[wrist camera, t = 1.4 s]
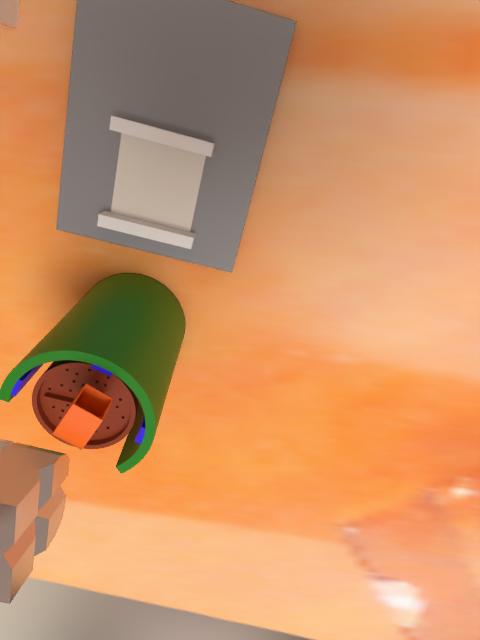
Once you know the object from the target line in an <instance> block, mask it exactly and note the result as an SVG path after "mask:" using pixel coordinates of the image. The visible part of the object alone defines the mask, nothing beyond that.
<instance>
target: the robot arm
mask: <svg viewBox="0 0 480 640" xmlns="http://www.w3.org/2000/svg"><path fill="white" fill-rule="evenodd" d="M68 470H69V458H68V456H67V454H64V453H60V452H55V451H51V450H46V449H42V448H38V447H33V446H29V445H25V444H20V443H14V442H12V441H7V440H2V439H0V602H4V603H11V601H12V600H13V598H14V597H15V595H16V594H17V592H18V591H19V589H20V588H21V586H22V585H23V583H24V582H25V581H26V579H27V578H28V576H29V575H30V573H31V572H32V570H33V560H34V556H35V555H37V554H39V553H41V552H43V551H45V550H46V549H47V548H48V546H49V545H50V543H51V541H52V540H53V538H54V537H55V534H56V532H57V530H58V527H59V525H60V523H61V520H62V516H63V512H64V508H65V500H66V495H65V493H64V491H63V490H62V488H61V486H60V485H61V484H62V482H63V481H64V480H65V478H66V477H67V476H68Z"/></svg>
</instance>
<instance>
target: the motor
mask: <svg viewBox="0 0 480 640" xmlns="http://www.w3.org/2000/svg"><path fill="white" fill-rule="evenodd" d="M184 333H185V317H184V313H183V310H182V308H181V305H180V303H179V302H178V300H177V298H176V297H175V296H174V295H173V293H172V292H171V291H170V290H169V289H168V288H167V287H165V286H164V285H163V284H161V283H160V282H158V281H156V280H154V279H152V278H150V277H147V276H144V275H140V274H133V273H123V274H117V275H113V276H110V277H107V278H105V279H103V280H102V281H100V282H99V283H97V284H96V285H95V286H94V287H93V288H92V289H91V290H90V291H89V292H88V293H87V294H86V295H85V296H84V297H83V298H82V299H81V300H80V301H79V302H78V303H77V304H76V305H75V306H74V307H73V308H72V309H71V310H70V311H69V312H68V313H67V315H66V316H65V317H64V318H63V319H62V320H61V321H60V322H59V323H58V324H57V325H56V326H55V327H54V328H53V329H52V330H51V331H50V332H49V333H48V334H47V335H46V336H45V337H44V338H43V339H42V340H41V341H40V342H39V343H38V344H37V345H36V346H35V347H34V348H33V349H32V350H31V351H30V353H29V354H28V355H27V356H26V357H25V358H24V359H23V360H22V361H21V362H20V363H19V364H18V365H17V366H16V367H15V368H14V369H13V370H12V371H11V372H10V373H9V375H8V376H7V377H6V379H5V380H4V382H3V384H2V387H1V389H0V399H1V400H4V401H7V402H9V401H10V400H11V399H12V398H13V397H14V396H16V395H17V394H18V392H19V391H20V390H21V389H22V388H23V387H24V386H25V384H26V383H27V382H28V381H29V380H30V379H31V377H32V376H33V375H34V374H35V373H36V372H37V371H38V369H39V368H40V367H41V366H42V365H43V364H44V363H47V362H52V361H54V362H53V363H52V364H51V365H50V367H49V368H48V369H47V370H46V371H45V372H44V374H43V375H42V376H41V377H40V378H39V380H38V381H37V383H36V385H35V387H34V390H33V394H32V405H33V410H34V413H35V415H36V417H37V419H38V421H39V422H40V424H41V425H42V426H43V428H44V429H45V430H46V431H47V432H48V433H50V434H51V435H52V436H53V437H55V438H56V439H58V440H60V441H62V442H64V443H66V444H68V445H71V446H74V447H77V448H79V449H81V450H82V449H83V448H85V449H98V448H104V447H108V446H111V445H113V444H115V443H117V442H119V441H120V440H122V439H123V438H124V437H125V436H126V435H127V434H128V433H129V434H128V436H127V439H126V442H125V444H124V447H123V449H122V452H121V455H120V457H119V460H118V462H117V465H116V468H117V469H118V470H119V471H120V473H123V472H125V471H127V470H129V469H131V468H132V467H134V466H135V465H136V464H137V463H139V462H140V461H141V460H142V459H143V458H144V456H145V455H146V454H147V452H148V451H149V449H150V447H151V445H152V442H153V439H154V436H155V433H156V429H157V426H158V422H159V419H160V416H161V412H162V409H163V405H164V402H165V399H166V395H167V392H168V388H169V385H170V382H171V378H172V375H173V371H174V368H175V365H176V361H177V358H178V354H179V351H180V348H181V344H182V341H183V337H184Z"/></svg>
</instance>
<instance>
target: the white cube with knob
mask: <svg viewBox="0 0 480 640" xmlns="http://www.w3.org/2000/svg"><path fill="white" fill-rule="evenodd" d="M18 19H19V0H0V23H1V24H4V25H8V26H11V27H14V28H18Z"/></svg>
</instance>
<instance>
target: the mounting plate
mask: <svg viewBox="0 0 480 640" xmlns="http://www.w3.org/2000/svg"><path fill="white" fill-rule="evenodd" d="M296 22H297V21H293V20H290V19H287V18H284V17H280V16H277V15H274V14H271V13H267V12H264V11H261V10H258V9H254V8H251V7H248V6H244V5H241V4H238V3H235V2H231V1H228V0H77V6H76V17H75V29H74V40H73V51H72V62H71V73H70V84H69V95H68V106H67V117H66V128H65V139H64V150H63V162H62V173H61V184H60V195H59V206H58V217H57V228H56V229H57V230H61V231H65V232H69V233H73V234H77V235H81V236H85V237H90V238H94V239H98V240H102V241H106V242H110V243H114V244H118V245H122V246H126V247H130V248H134V249H138V250H142V251H147V252H151V253H155V254H159V255H163V256H167V257H171V258H175V259H179V260H183V261H187V262H191V263H195V264H199V265H204V266H208V267H212V268H216V269H220V270H224V271H228V272H232V271H233V268H234V264H235V260H236V256H237V252H238V248H239V244H240V240H241V236H242V232H243V229H244V225H245V221H246V217H247V213H248V209H249V205H250V201H251V197H252V194H253V190H254V186H255V182H256V178H257V174H258V170H259V166H260V162H261V158H262V155H263V151H264V147H265V143H266V139H267V135H268V131H269V127H270V123H271V120H272V116H273V112H274V108H275V104H276V100H277V96H278V92H279V88H280V84H281V81H282V77H283V73H284V69H285V65H286V61H287V57H288V53H289V49H290V46H291V42H292V38H293V34H294V30H295V26H296Z"/></svg>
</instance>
